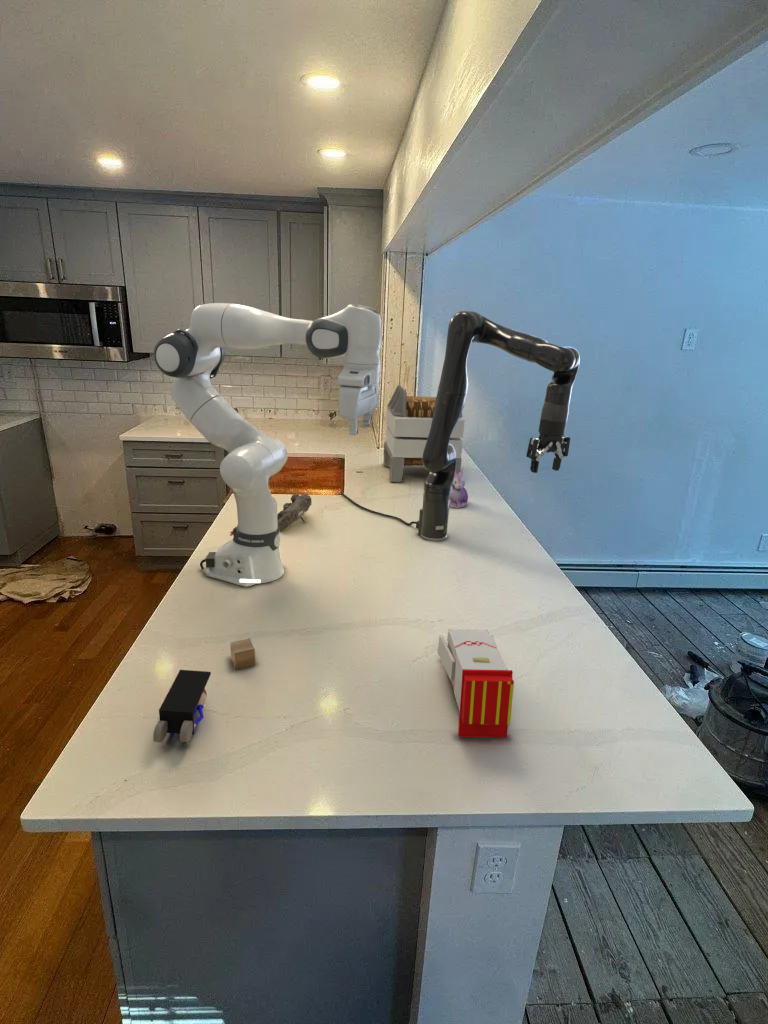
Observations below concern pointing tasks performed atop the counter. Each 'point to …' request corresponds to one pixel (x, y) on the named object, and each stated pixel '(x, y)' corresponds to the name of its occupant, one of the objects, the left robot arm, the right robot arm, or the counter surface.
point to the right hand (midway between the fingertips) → (544, 471)
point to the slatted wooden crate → (412, 432)
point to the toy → (478, 682)
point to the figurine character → (182, 706)
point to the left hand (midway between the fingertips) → (359, 431)
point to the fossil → (293, 510)
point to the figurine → (458, 491)
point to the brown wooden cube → (242, 653)
